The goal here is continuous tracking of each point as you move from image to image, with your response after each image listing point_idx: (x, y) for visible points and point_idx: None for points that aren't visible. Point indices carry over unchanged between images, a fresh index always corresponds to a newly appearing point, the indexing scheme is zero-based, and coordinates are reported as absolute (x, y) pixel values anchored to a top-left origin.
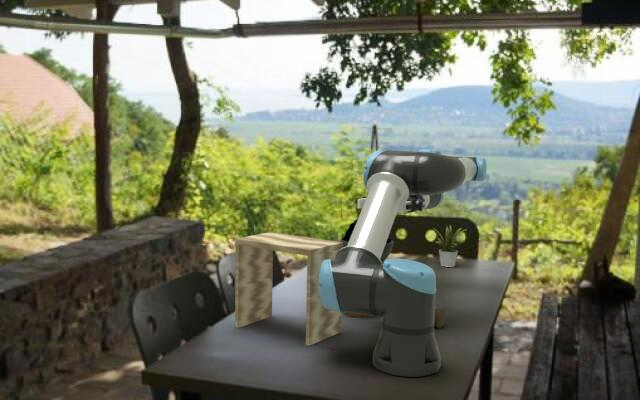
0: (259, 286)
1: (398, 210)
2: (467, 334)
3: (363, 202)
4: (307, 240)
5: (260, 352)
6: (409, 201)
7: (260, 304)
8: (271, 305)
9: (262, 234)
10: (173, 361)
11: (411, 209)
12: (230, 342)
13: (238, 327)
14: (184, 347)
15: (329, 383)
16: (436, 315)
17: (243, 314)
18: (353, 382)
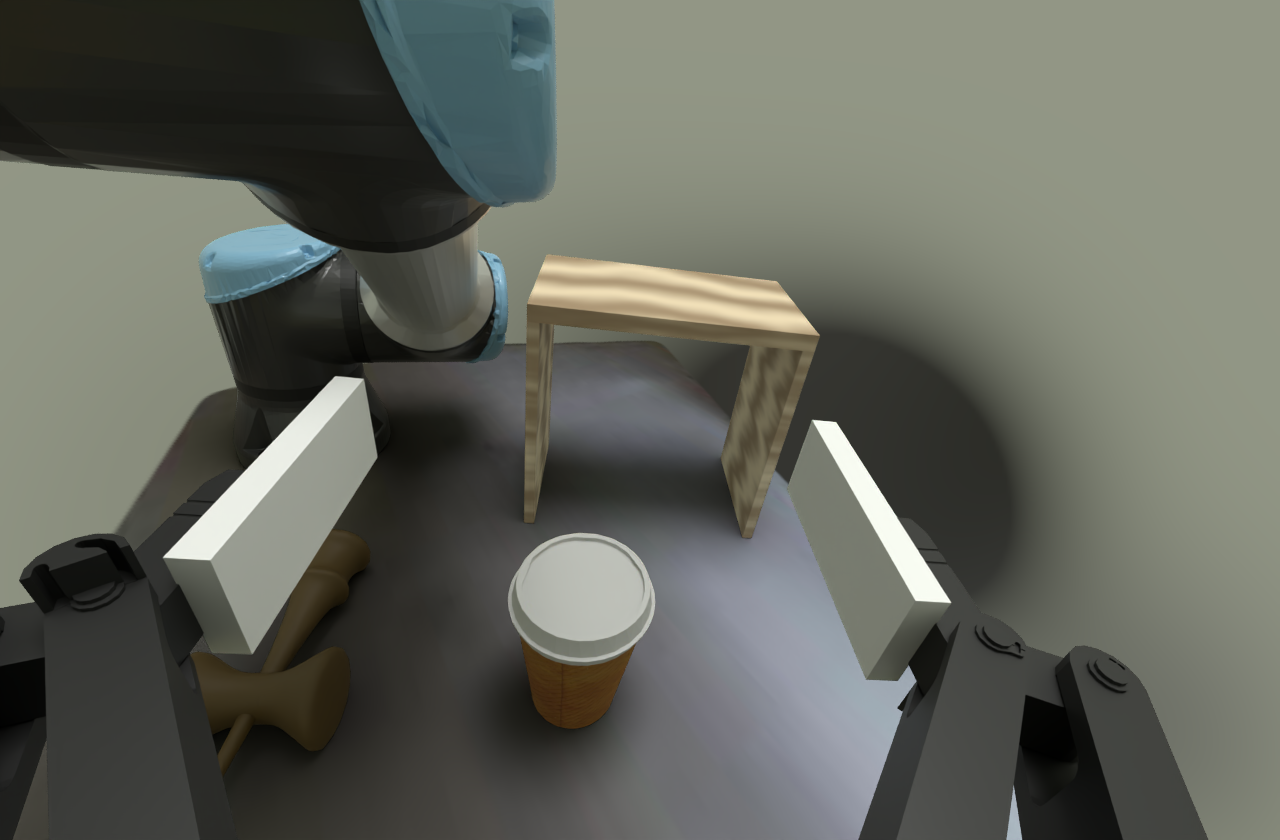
0: (752, 435)
1: (368, 441)
2: None
3: (822, 493)
4: (633, 298)
5: (593, 403)
6: (203, 535)
7: (742, 475)
8: (748, 513)
9: (794, 314)
10: (662, 358)
11: (196, 672)
12: (665, 413)
13: (721, 458)
14: (697, 384)
15: (435, 368)
16: (207, 653)
17: (728, 448)
18: (401, 377)
